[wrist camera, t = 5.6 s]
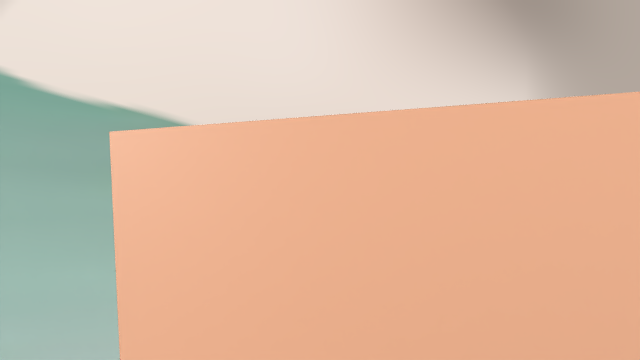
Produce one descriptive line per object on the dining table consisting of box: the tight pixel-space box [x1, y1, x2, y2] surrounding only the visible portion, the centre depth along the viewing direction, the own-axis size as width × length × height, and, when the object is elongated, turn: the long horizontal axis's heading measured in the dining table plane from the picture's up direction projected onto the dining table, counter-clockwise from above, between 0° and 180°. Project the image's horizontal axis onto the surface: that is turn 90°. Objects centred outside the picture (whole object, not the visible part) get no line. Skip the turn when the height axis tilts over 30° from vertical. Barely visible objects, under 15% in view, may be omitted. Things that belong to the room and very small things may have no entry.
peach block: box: [109, 92, 640, 360], centre depth 9 cm, size 5×5×13 cm
